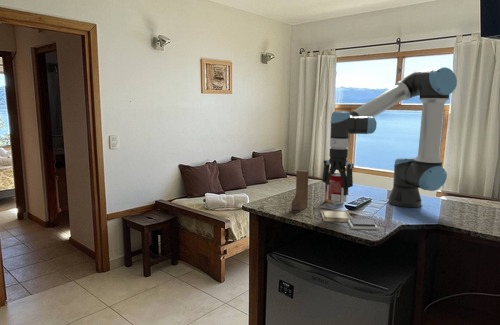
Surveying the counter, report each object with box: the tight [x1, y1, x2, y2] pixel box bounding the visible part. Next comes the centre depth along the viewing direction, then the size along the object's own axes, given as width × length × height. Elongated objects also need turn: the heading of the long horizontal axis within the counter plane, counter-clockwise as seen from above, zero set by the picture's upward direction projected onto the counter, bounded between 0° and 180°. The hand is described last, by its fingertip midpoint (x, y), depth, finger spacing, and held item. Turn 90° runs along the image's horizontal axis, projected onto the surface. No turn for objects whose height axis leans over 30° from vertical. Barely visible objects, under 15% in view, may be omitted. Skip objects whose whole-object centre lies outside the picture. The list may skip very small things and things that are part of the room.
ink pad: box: [347, 218, 379, 231], centre depth 145 cm, size 10×8×2 cm
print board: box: [320, 209, 353, 223], centre depth 156 cm, size 12×12×1 cm
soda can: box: [328, 172, 343, 203], centre depth 154 cm, size 7×7×12 cm
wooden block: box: [291, 169, 309, 212], centre depth 168 cm, size 9×4×18 cm, turn 149°
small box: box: [324, 183, 345, 206], centre depth 179 cm, size 8×6×13 cm
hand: (336, 200), depth 155 cm, fingers closed on soda can, 7 cm apart
